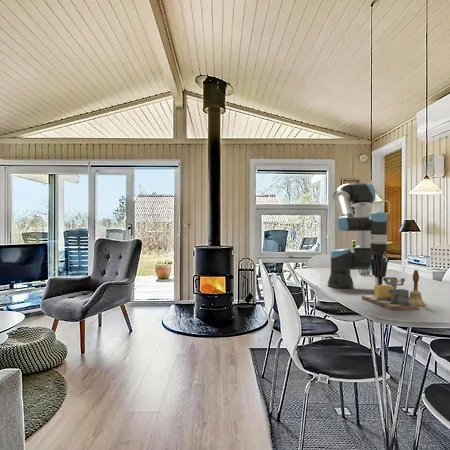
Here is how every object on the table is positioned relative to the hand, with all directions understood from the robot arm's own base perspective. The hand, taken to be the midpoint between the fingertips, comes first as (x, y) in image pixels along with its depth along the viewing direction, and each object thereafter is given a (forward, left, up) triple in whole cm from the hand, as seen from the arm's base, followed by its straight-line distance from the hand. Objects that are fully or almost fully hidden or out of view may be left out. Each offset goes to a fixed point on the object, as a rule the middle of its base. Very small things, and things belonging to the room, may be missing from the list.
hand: (378, 290), depth 163 cm
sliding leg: (+5, -1, -3) cm, 6 cm away
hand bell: (+9, +13, -5) cm, 17 cm away
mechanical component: (-7, +13, -5) cm, 16 cm away
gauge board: (+8, 0, -5) cm, 9 cm away
